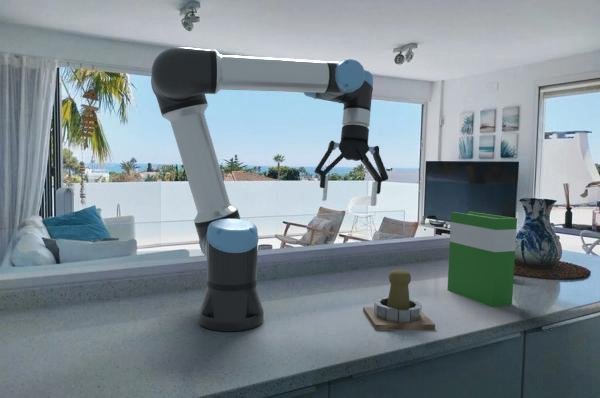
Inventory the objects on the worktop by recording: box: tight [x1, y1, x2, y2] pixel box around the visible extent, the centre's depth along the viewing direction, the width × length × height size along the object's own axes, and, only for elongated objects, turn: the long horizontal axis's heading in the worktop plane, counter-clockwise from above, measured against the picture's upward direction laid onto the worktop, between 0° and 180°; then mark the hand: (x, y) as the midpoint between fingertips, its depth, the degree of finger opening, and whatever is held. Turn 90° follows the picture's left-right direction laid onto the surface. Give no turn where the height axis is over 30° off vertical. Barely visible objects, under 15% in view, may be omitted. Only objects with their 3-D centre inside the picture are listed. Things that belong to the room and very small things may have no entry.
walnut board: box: [362, 306, 436, 331], centre depth 112 cm, size 14×13×1 cm
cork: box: [387, 269, 412, 309], centre depth 112 cm, size 6×6×11 cm
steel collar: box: [373, 296, 423, 323], centre depth 112 cm, size 11×11×3 cm
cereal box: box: [447, 211, 518, 308], centre depth 134 cm, size 18×7×24 cm, turn 23°
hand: (348, 203), depth 126 cm, fingers open, 13 cm apart
